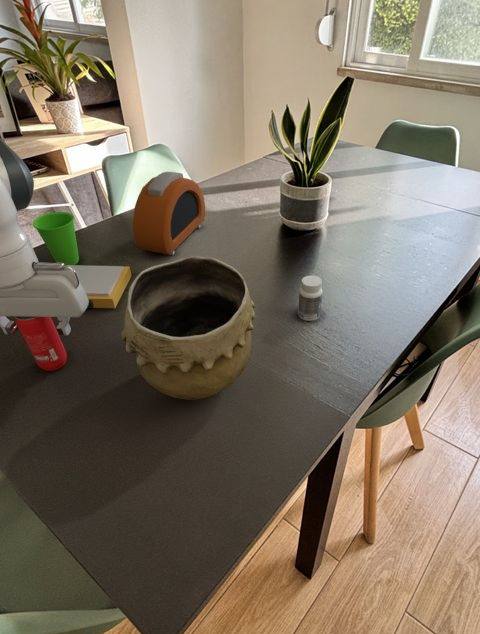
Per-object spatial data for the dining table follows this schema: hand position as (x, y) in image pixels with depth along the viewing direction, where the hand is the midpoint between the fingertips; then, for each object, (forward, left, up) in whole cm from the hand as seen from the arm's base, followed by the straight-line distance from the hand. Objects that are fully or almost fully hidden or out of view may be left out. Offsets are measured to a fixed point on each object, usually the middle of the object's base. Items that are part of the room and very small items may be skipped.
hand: (38, 332), depth 74 cm
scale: (-1, +24, -8) cm, 25 cm away
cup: (-11, +36, -8) cm, 38 cm away
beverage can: (0, 0, -8) cm, 8 cm away
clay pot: (+28, -3, -8) cm, 29 cm away
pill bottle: (+48, +17, -8) cm, 51 cm away
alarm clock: (+13, +49, -8) cm, 51 cm away
